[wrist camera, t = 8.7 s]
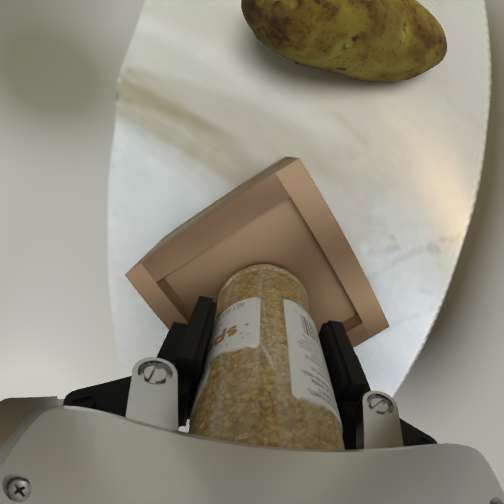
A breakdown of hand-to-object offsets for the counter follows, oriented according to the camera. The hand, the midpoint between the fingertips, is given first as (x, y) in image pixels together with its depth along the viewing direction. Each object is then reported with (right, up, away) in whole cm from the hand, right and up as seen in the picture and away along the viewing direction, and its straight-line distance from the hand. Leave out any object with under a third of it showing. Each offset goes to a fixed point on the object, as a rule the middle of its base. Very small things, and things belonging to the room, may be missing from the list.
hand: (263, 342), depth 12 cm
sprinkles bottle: (0, +1, +3) cm, 3 cm away
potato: (+6, +18, +4) cm, 19 cm away
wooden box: (0, +3, +9) cm, 10 cm away
